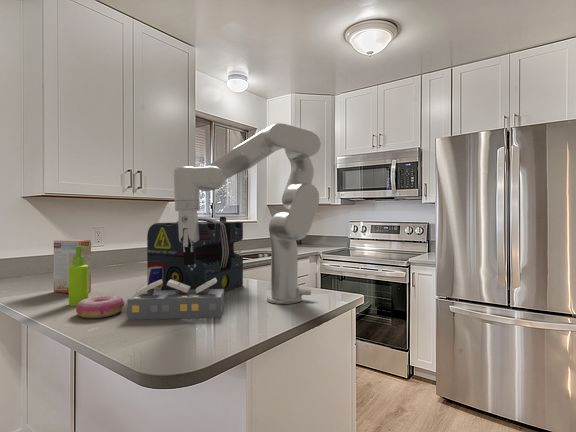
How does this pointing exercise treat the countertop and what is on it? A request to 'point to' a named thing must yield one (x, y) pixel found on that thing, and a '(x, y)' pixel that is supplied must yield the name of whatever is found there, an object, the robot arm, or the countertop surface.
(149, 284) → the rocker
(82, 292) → the soap dispenser
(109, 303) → the donut
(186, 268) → the power unit
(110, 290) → the countertop surface
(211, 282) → the rocker
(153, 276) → the energy drink
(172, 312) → the panel
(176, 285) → the block
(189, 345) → the countertop surface
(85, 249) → the cracker box
